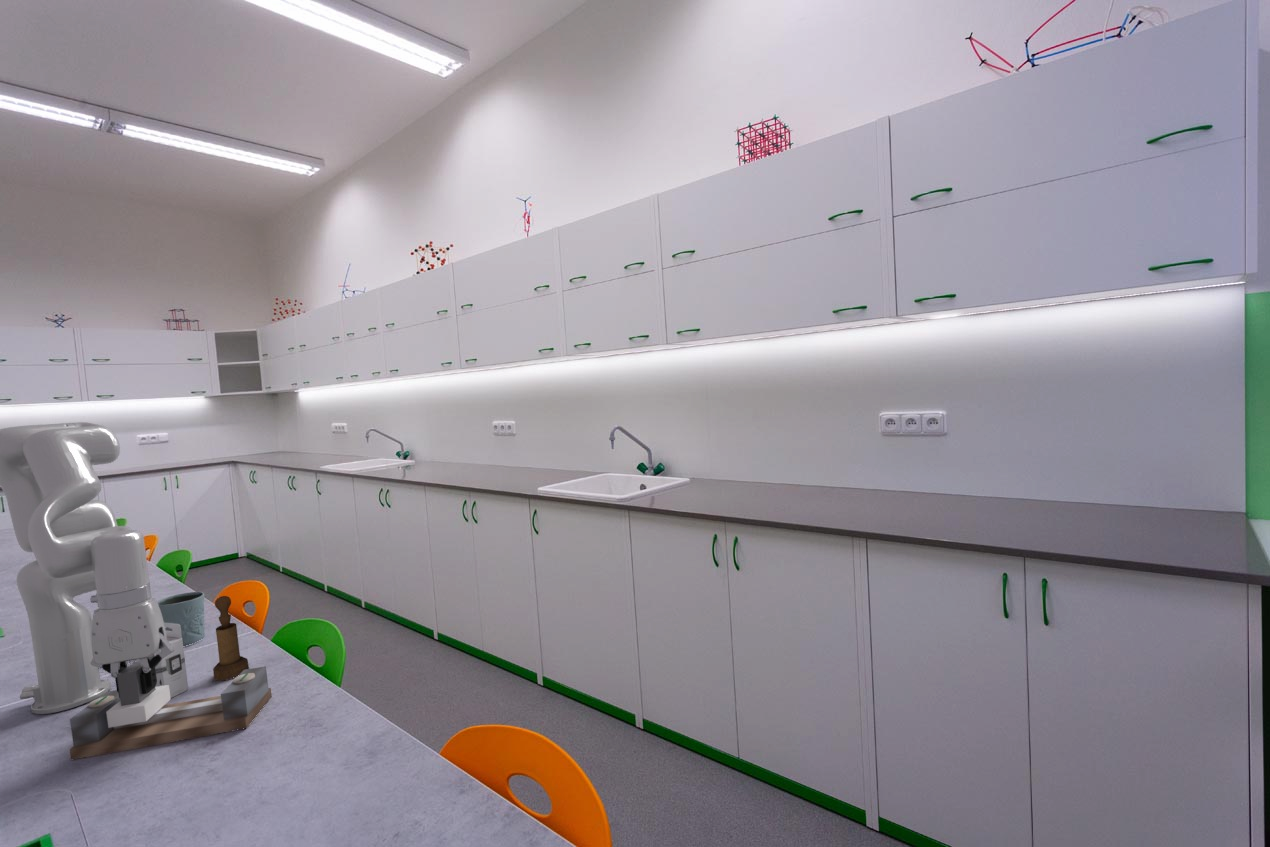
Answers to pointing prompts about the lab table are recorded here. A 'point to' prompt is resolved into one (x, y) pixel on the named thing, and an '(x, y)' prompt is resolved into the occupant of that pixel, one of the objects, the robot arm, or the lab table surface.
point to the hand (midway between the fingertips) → (137, 691)
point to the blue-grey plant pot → (185, 615)
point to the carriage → (135, 699)
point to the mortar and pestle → (227, 644)
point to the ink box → (172, 663)
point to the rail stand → (171, 718)
